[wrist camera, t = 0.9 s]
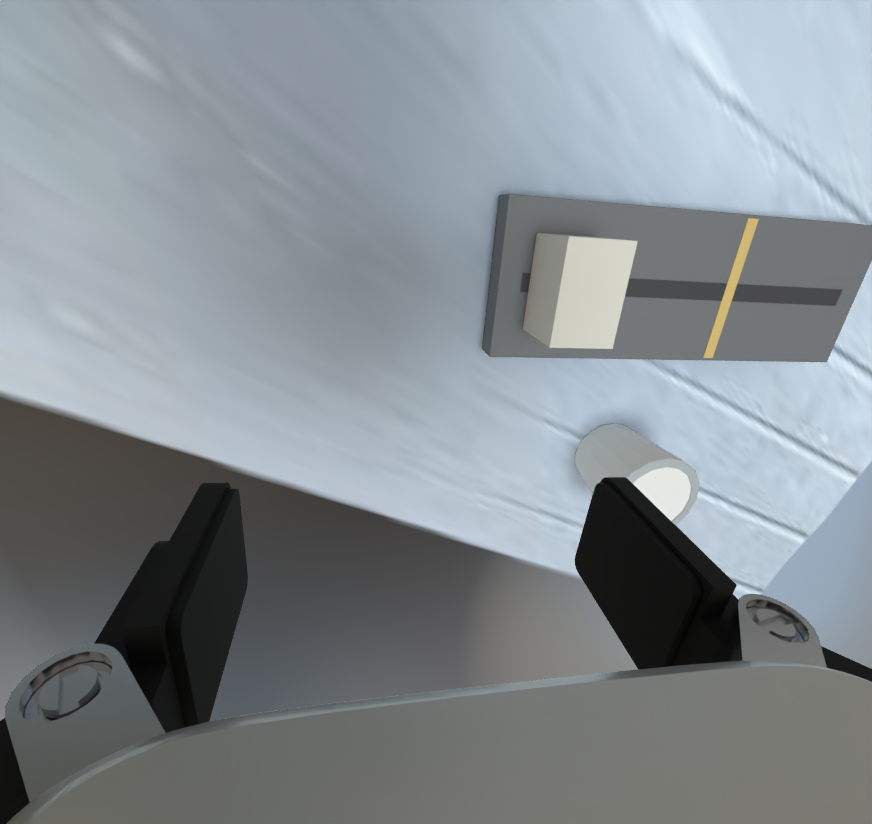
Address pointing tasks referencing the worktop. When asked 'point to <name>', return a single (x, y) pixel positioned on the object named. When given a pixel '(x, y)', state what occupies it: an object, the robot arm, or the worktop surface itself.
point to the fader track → (689, 281)
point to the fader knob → (577, 290)
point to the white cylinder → (638, 468)
